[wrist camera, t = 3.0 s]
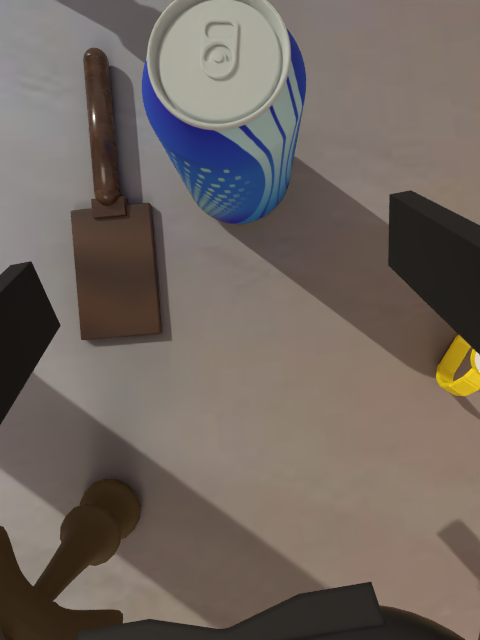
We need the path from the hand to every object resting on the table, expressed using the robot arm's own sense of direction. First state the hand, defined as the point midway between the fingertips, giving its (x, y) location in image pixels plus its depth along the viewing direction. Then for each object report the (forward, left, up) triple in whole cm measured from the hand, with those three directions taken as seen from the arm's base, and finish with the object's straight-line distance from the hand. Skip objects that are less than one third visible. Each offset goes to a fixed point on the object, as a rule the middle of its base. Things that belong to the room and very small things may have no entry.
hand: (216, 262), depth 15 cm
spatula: (-14, 0, -19) cm, 24 cm away
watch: (+17, +7, -20) cm, 27 cm away
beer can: (-6, +7, -20) cm, 22 cm away
